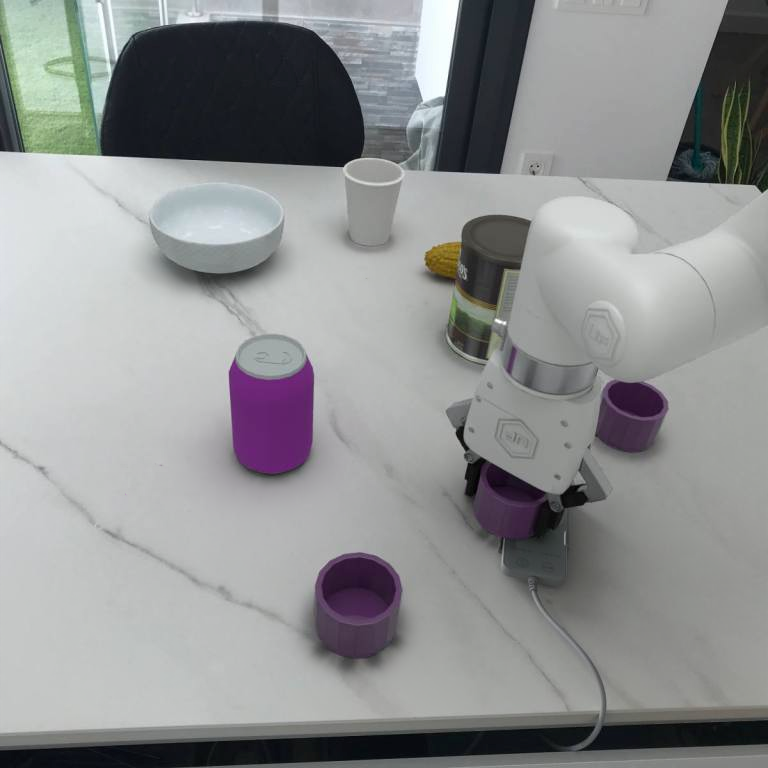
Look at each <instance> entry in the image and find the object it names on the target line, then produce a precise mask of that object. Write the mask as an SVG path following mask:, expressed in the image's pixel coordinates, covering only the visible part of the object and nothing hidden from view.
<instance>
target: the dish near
mask: <svg viewBox="0 0 768 768" xmlns="http://www.w3.org/2000/svg"><path fill="white" fill-rule="evenodd" d="M402 596H403V586H402V582H401V577H400V575H399V574H398V572H397V571H396V570H395V568H394V567H393V566H392V565H391V563H390V562H388V561H387V560H384V559H383V558H381V557H379V556H378V555H375V554H371V553H366V552H362V551H360V552H348V553H347V552H346V553H342V554H341V555H339V556H336V557H334V558H332V559H330V560H329V561H328V562H327V563H326V564H325V565H324V566H323V567H322V568H321V569H320V570H319V572H318V575H317V578H316V581H315V584H314V601H313V602H314V604H313V606H314V607H313V617H314V618H313V619H314V621H313V622H314V629H315V632H316V635H317V637H318V639H319V640H320V641H321V643H322V644H323V645H324V646H325V647H326V648H327V649H329V650H330V651H331V652H333V653H334V654H337V655H339V656H341V657H345V658H348V659H349V658H350V659H363V658H369V657H371V656H374V655H376V654H379V653H380V652H382V651H383V650H385V648H387V647H388V646H389V644H390V643H391V642H392V641H393V639H394V637H395V635H396V632H397V627H398V622H399V616H400V611H401V603H402V598H403V597H402Z"/></svg>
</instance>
